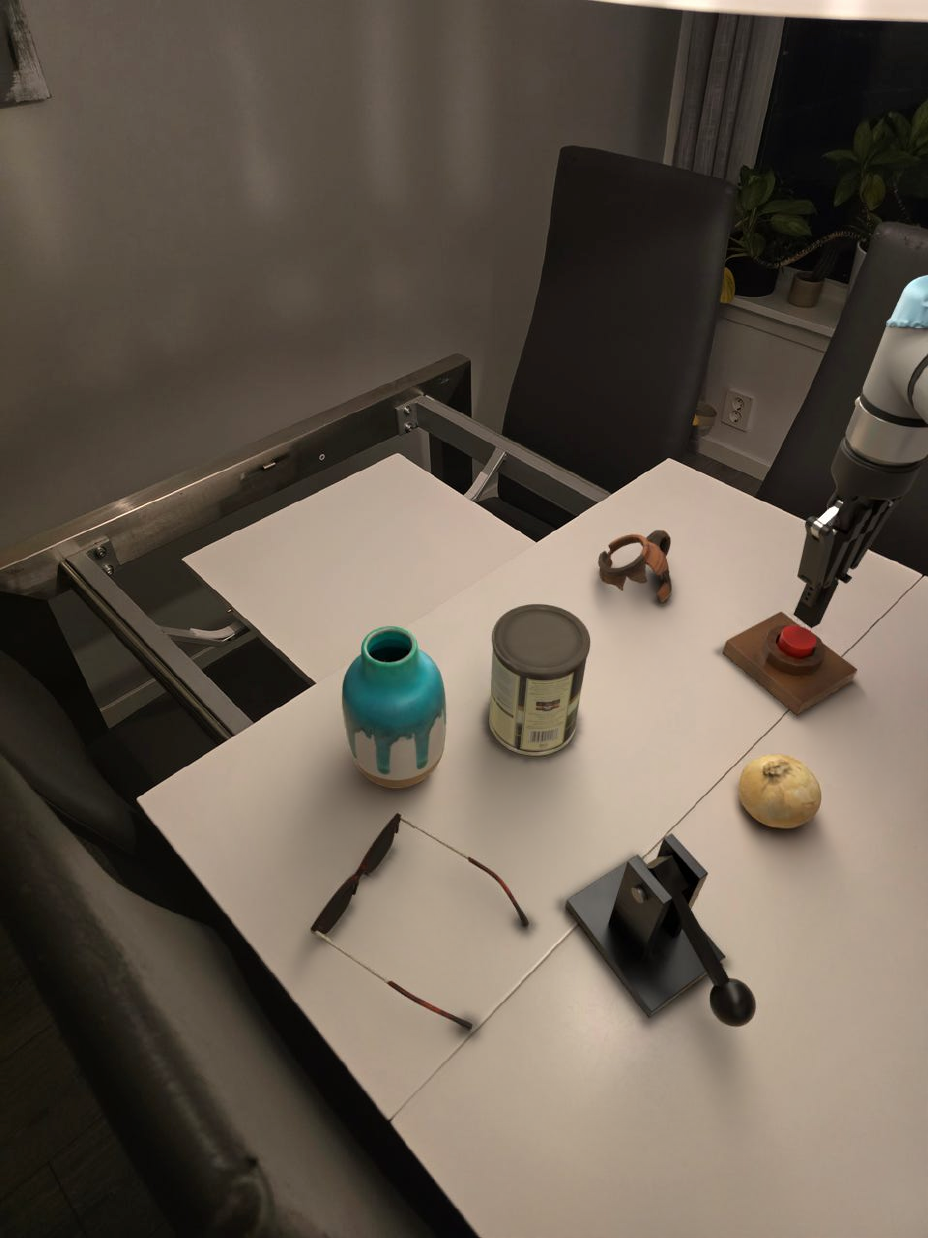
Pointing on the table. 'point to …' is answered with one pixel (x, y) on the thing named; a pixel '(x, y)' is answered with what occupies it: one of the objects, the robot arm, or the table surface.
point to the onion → (779, 791)
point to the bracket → (644, 927)
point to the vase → (394, 709)
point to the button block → (788, 665)
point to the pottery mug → (639, 561)
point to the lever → (705, 950)
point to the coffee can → (537, 678)
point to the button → (796, 641)
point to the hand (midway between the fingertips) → (806, 618)
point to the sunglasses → (368, 866)
